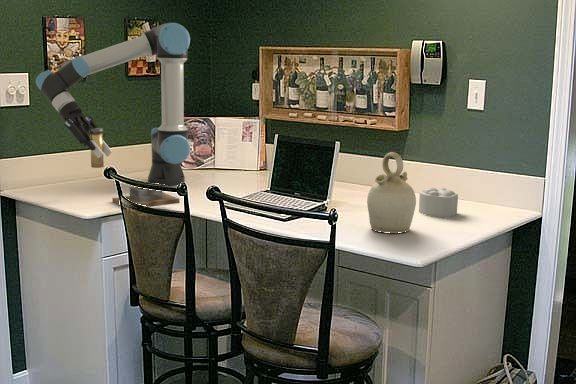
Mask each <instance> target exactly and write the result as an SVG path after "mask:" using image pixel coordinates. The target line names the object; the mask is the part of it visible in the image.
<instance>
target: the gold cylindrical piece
mask: <svg viewBox="0 0 576 384" xmlns="http://www.w3.org/2000/svg"><path fill="white" fill-rule="evenodd" d="M89 133H90V134H89ZM89 133H88V134H89V137H90V139H91V140H93V141H94V142H95V143H96V144H97V146H98V147H99V148H100V149H101V151H102V152H103V140H104V138H103V135H102V133H103V134H104V128H103V127H99V128H89ZM91 140H90V141H91ZM103 153H104V152H103ZM90 165H91V168H94V169H96V168H97V169H99V168H100V169H101V168H104V165H105V163H104V154H103V155H102V156H101V157H100V158H99V159H98V157H97V156H96V155H95V154H94V152H93V151H92V150H91V149H90Z"/></svg>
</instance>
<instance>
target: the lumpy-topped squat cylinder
mask: <svg viewBox="0 0 576 384" xmlns="http://www.w3.org/2000/svg"><path fill="white" fill-rule="evenodd" d="M418 195H419V198H418V213H419V212H420V214H421V213H423V214H422V215H424V214H426V215H425V216H428V215H431V216H430V217H434V216H439V217H438V218H443V217H449V218H452V217H454V216H456V214H458V204H459V203H458V202H459V201H458V200H459V194H458V193H457V192H454V191H453V190H452V189H451V190H450V189H447V188H445V187H440V188H438V189H437V188H436V187H429V188H427V189H423V190H420V192H419V194H418ZM453 215H454V216H453Z"/></svg>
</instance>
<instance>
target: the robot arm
mask: <svg viewBox="0 0 576 384" xmlns="http://www.w3.org/2000/svg"><path fill="white" fill-rule="evenodd" d="M190 42H191V36H190V33H189V31H188V30H187V29H186V27H185V26H183V25H181V24H180V23H177V22H167V23H161V24H160V25H157V26H156V27H154V28H152V29H150V30H147V31H145V32H142V33H141V35H140V36H138V37H135V38H132V39H128V40H126V41H123V42H120V43H117V44H114V45H111V46H108V47H105V48H102V49H98V50H96V51H93V52H90V53H87V54H85V55H82V56H81V55H78V56H76V57H74V58H72V59H68V60H65V61H63V62H62V63H61V64H60V67H59V69H58V70H56V71H55V72H53V71H52V70H48V69H47V70H45V71H42V72H41V73H39V74H38V75H37V76H36V78H35V85H36V86H37V87H38V89H39V90H40V93H42V94H43V96H44V97H45V98H46V99H47V101H49V103H50V104H51V105H52V106H53V108H55V110H56V111H57V112H58V113H59V115H60V117H61V118H62V119H63V121H65V123H64V124H63V125H64V126H65V127H66V128H67V129H68V130H69V131H70V132H71V133H72V135H73V136H74V138H76V140H77V141H78V142H79V143H80V144H82V145H83V146H84V147H86V146H87V147H88V148H89V149H90V151H91V150H92V151H93V152H94V154H95V155H96V156H97V157H98V159H99V158H100V157H101V156H102V155H103V156H104V155H105V156H106V157H109V156H110V155H111V154H112V152H113V150H112V149H111V148H110V146H109V145H108V144H107V142H106V141H105V139H104V138H105V137H106V136H105V134H104V132H103V133H102V135H103V152H102V151H101V149H100V148H99V147H98V146H97V144H96V143H95V142H94V141H93V140H91V139H90V133H89V128H100V127H99V126H98V125H97V123H95V121H94V119H93V117H92V116H89V117H86V115H85V114H83V113H82V110H83V109H82V107H81V106H80V105H79V103H78V102H77V101H76V99H74V97H73V96H72V94H70V92H69V91H68V89H70V88H71V87H72V86H74V85H75V84H77V83H79V82H80V81H81V80H83V79H84V78H86V77H87V76H88V75H89V76H90V75H92V74H95V73H98V72H100V71H104V70H106V69H110V68H113V67H115V66H118V65H122V64H124V63H127V62H131V61H133V60H136V59H139V58H141V57H145V56H149V57H153V56H155V55H156V58H157V60H158V61H159V62H160V68H161V69H160V72H161V73H160V74H161V75H160V77H161V79H160V80H161V81H160V82H161V83H160V85H161V87H160V88H161V89H160V90H161V91H160V92H161V124H160V126H159V127H154V128H152V129H151V132H150V137H151V166H150V170H149V172H148V176H147V183H148V182H150V183H159V184H165V185H164V186H177V185H176V184H178V185H180V184H179V183H181V182H184V183H185V182H186V181H185V179H186V176H185V175H184V171H183V168H182V165H181V163H183V162H184V161H186V159H188V157H189V156H190V154H191V144H190V141H189V140H188V139H189V138H188V133H189V132H188V127H187V126H186V125H185V123H184V121H185V120H184V119H185V115H184V112H185V111H184V110H185V109H184V108H185V107H184V103H185V101H184V100H185V99H184V98H185V97H184V96H185V94H184V89H185V88H184V87H185V86H184V85H185V84H184V83H185V81H184V78H185V77H184V74H185V73H184V67H185V66H184V63H186V62H187V60H188V49H189V47H190V44H191V43H190ZM90 140H91V141H90Z"/></svg>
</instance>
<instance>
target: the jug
mask: <svg viewBox="0 0 576 384" xmlns="http://www.w3.org/2000/svg"><path fill="white" fill-rule="evenodd" d="M390 158H392V159H394V160H395V162H396V170H395V171H392V170H391V169H390V166H389V161H390ZM381 162H382V164H381V166H382V169H383V172H384V173H385V174H378V175H377V176H376V177H375V179H374V182H375V183H374V184H373V185H371V187H370V189H369V191H368V194H367V200H366V202H367V211H368V219H369V224H370V228H372V229H373V230H372V229H371V230H372V231H374V230H376V231H381V232H390V233H398V232H405V231H407V232H409V231H410V228H411V225H412V222H413V218H414V214H415V210H416V206H417V200H416V199H417V198H416V194H415V190H414V188H413V187H412V186H411V185H410V184H409V183H408V182H407V180H408V173H407V171H403V170H404V161H403V158H402V156H400V155H399V153H396V152H395V151H394V152H393V151H391V152H388V153H386V154H385V155H384V156H383V159H382V161H381ZM408 230H409V231H408ZM376 231H375V232H376ZM405 233H406V232H405Z"/></svg>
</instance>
